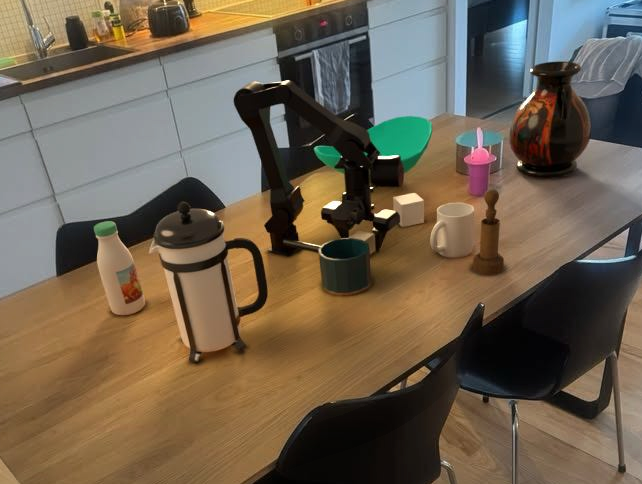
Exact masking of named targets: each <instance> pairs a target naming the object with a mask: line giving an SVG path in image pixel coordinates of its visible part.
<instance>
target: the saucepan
mask: <svg viewBox="0 0 642 484" xmlns="http://www.w3.org/2000/svg"><path fill="white" fill-rule="evenodd" d="M283 245H284V246H289V247H293V248H298V250H302V251H303V250H304V251H307V252H312V253H317V254H318V259H319V261H318V262H319V269H320V278H321V286H322V289H323V291H325V292H327V293H328V294H331V295H335V296H353V295H356V294H360V293H362V292H364V291H366V290H367V289H369V288H370V286H371V285H372V267H371V266H372V264H371V254H370V248H369V244H368V243H367V242H365V241H363V240H361V239H356V238H341V237H339V238H335V239H331V240H328V241H327V242H324V243H322V244H321V245H317V244H313V243H308V242H303V241H300V240H299V241H294V240H290V239H284V240H283Z"/></svg>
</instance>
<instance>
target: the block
mask: <svg viewBox="0 0 642 484" xmlns="http://www.w3.org/2000/svg"><path fill="white" fill-rule="evenodd" d="M349 238H356V239H361V240H363V241H365V242H367V243H368V244H369V248H370V255H372V254H373V253H375V252H376V250H375V234H374V233H373V232H367V231H361V230H357V231H356V232H354V233H353V234H352V235H349Z"/></svg>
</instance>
